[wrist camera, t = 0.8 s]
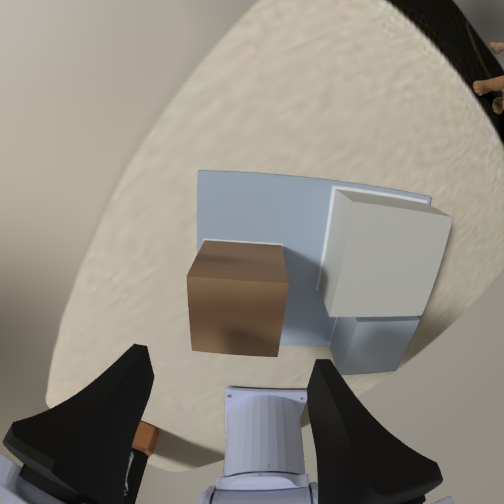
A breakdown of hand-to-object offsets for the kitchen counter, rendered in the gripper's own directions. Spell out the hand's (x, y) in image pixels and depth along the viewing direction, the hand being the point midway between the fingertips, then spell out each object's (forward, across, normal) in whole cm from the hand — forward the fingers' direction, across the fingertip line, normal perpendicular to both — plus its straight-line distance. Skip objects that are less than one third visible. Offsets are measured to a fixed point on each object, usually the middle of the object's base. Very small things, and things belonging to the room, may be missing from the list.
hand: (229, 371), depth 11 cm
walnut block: (+9, 0, 0) cm, 9 cm away
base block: (+9, -9, -3) cm, 13 cm away
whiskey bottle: (+9, +16, +26) cm, 32 cm away
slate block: (+9, -10, +4) cm, 14 cm away
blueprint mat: (+9, -5, 0) cm, 10 cm away
